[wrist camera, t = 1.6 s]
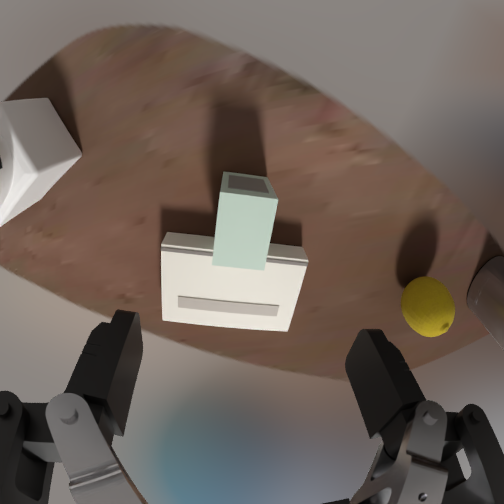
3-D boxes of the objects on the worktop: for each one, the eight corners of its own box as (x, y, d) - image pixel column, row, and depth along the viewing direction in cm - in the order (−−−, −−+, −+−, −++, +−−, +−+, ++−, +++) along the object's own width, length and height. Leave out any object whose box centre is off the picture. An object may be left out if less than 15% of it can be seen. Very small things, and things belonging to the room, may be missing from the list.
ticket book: (302, 246, 26) (308, 260, 24) (283, 315, 29) (287, 331, 27) (167, 231, 24) (161, 244, 22) (167, 304, 28) (162, 320, 26)
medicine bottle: (8, 146, 19) (-80, 184, 8) (48, 95, 17) (-51, 108, 7) (40, 200, 22) (-41, 261, 11) (84, 154, 20) (-10, 199, 10)
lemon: (406, 310, 31) (437, 356, 24) (380, 293, 29) (413, 343, 22) (436, 276, 29) (473, 318, 22) (413, 254, 27) (455, 298, 20)
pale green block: (267, 176, 22) (278, 198, 17) (257, 233, 25) (264, 270, 19) (223, 170, 22) (220, 190, 17) (216, 229, 24) (211, 265, 19)
